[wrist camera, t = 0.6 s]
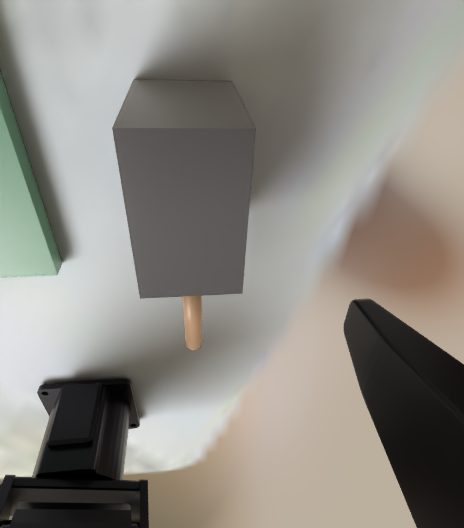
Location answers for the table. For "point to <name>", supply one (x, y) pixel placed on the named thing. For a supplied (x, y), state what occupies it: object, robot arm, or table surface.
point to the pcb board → (21, 207)
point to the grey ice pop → (186, 189)
